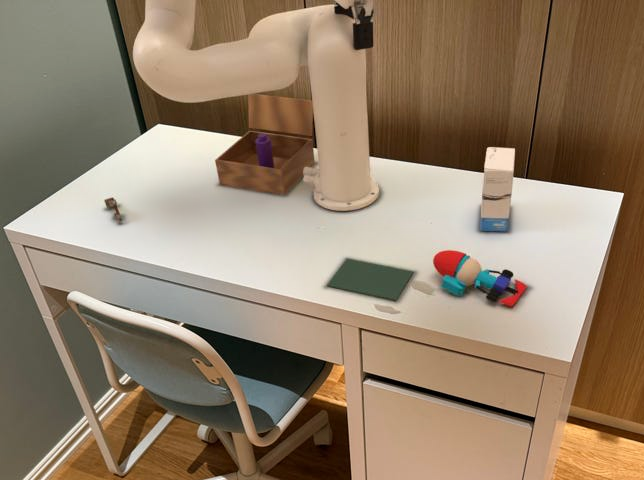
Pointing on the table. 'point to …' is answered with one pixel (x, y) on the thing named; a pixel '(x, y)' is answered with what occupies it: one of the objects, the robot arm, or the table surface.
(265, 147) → the purple bottle
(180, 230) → the table surface
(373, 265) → the drawing mat
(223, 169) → the brown wooden open box
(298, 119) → the wooden box lid
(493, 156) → the ink box
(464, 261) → the toy figure
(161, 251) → the table surface
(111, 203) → the wooden post with brackets
